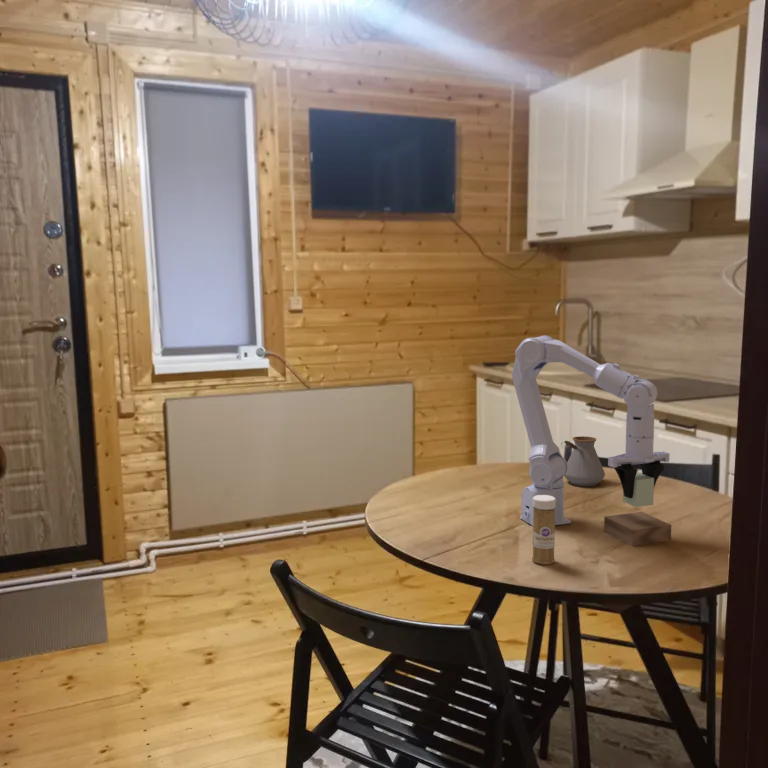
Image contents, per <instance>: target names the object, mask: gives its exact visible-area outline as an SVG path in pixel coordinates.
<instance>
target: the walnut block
mask: <svg viewBox="0 0 768 768" xmlns="http://www.w3.org/2000/svg"><path fill="white" fill-rule="evenodd" d="M603 518H604V520H603V521H604V524H603V525H604V526H603V531H604V533H605V534H606V533H607V534H608V535H610V536H612V537H614V538H616V539H618V540H619V541H622V542H623V543H626V544H627V545H629V546H630V547H635V546H642V545H649V544H656V543H664V542H668V541H669V542H670V541H672V524H670V523H668V522H667V521H666V522H665V521H664V520H661V519H659V518H657V517H654V516H652V515H650V514H648V513H646V512H643V511H637V512H636V511H635V512H629V513H622V514H615V515H614V514H613V515H608V516H607V515H605V516H604V517H603Z"/></svg>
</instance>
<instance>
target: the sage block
mask: <svg viewBox="0 0 768 768" xmlns="http://www.w3.org/2000/svg"><path fill="white" fill-rule="evenodd" d="M654 491H655V487H654V478H652V477H650V476H647V475H644V474H642V472H641V473H636V476H635V480H634V491H633V497H632V498H628V497H625V496H624V492H623V493H622V497H623V498H622V502H624V503H625V504H628V505H630V506H632V507H635V508H639V507H646V506H654Z"/></svg>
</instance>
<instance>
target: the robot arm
mask: <svg viewBox="0 0 768 768" xmlns="http://www.w3.org/2000/svg"><path fill="white" fill-rule="evenodd" d="M514 355H515V360H514V363H513V369H512V372H511V379H512V383H513V385H514V389H515V393H516V396H517V400H518V401H517V402H518V404H519V407H520V408H519V409H520V411H521V414H522V420H523V422H524V425H525V430H526V434H527V438H528V441H529V444H530V452H529V456H528V461H529V471H528V474H529V478H530V480H531V482H532V484H531V485H529V486H526V487H524V488H523V489H522V491H521V515H520V516H519V519H521V520H523V521H524V522H526V523H527V524H529V525H531V526H532V527H533V497H534V496H536V495H549V496H553V497H555V499H556V507H555V526H560V525H568V524H571V523H572V521H571V520H569V519H568V518H566V517H564V511H565V510H564V508H565V507H564V505H565V482H564V479H563V478H564V477H565V476H564V475H565V474H566V472H567V469H568V466H567V462H568V461H567V460H566V459H565V457H564V456H563V455H562V453H561V452H560V451H561V450H560V448H559V446H558V445H557V444H556V443H555V442H554V439H553V436H552V433H551V429H550V426H549V422H548V419H547V414H546V410H545V407H544V403H543V399H542V397H541V392H540V388H539V385H538V381H537V377H538V376H539V374H540V373H541V371H542V370H543V368H544V367H545V366H546V365H547V364H548V363H563V364H565V365H567V366H568V367H571V368H573V369H576V370H577V371H580V372H582V373H584V374H586V375H588V376H590V377H592V378H593V381H594V384H595V385H596V386H597V387H598V388H600V389H602V390H604V391H606V392H608V393H610V394H611V395H613V396H615V397H617V398H619V399H621V400H622V399H623V401H624V403H625V404H626V409H627V410H626V416H625V417H626V421H625V422H626V427H625V453H622V454H618V455H614V456H608V458H607V465H608V467H610V468H613V469H614V470H615V472H616V474H617V476H618V478H619V480H620V484H621V487H622V491H623V492H624V496H625V497H628V498H632V497H633V491H634V480H635V476H636V474H638V469H636V468H633V466H632V465H640V468H641V474H644V475H647V476H650V477H652V478H654V488H655V487H656V484H657V481H658V479H659V477H660V475H661V474H662V472H663V471H664V469H665V465H664V464H663V463H661V462H664V463H669V462H670V453H669V452H666V451H654V437H655V436H654V435H655V434H654V432H655V403H654V402H655V401H656V400H657V398H658V389H657V386H656V385H655V384H654V383H653V382H652V381H650V379H647V378H641V379H640V375H637V374H631V373H629V372H627V371H626V370H624V369H622V368H621V365H620V364H618V363H617V362H614V363H610V362H607V363H603V364H600V363H598V362H597V361H595V360H593V359H592V358H590V357H588V356H587V355H585V354H583V353H582V352H579V351H578V350H576V349H575V348H573V347H571V346H570V345H568V344H567V343H564V342H563V341H562V340H558V339H556V338H555V339H554V338H553V337H551V336H549V335H540V336H537V337H527V338H524V339H523V340H522V341H521V343H520V344H519V345H518V347H517V348H516V349H515V351H514Z"/></svg>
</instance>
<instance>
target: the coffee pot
mask: <svg viewBox="0 0 768 768" xmlns="http://www.w3.org/2000/svg"><path fill="white" fill-rule="evenodd" d="M572 440H573V442H574V443H573V442H571V441H569V440H565V441H562V442H561V443H560V445H561V447H562V448H563V449H565V447H563V445H562V444H563V443H565V445H566V446H567V447H566V449H568V448H571V449H572V452H571V454H570V456H569V458H568V460H567V461H566V462H567V466H568V469H567V472H566V474H565V475H564V476H563V477H564V478H566V480H567V481H569V483H570V484H571V485H573V486H579V487H593V486H597V485H598V484H599V483H600V482H602V481H603V480H604V478H605V476H606V473H605V470H604V469H603V465H602V463H601V460H600V458H599V456H598V453H597V450H596V448H595V443H596V442H597V438H596V437H593V436H573V437H572Z"/></svg>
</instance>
